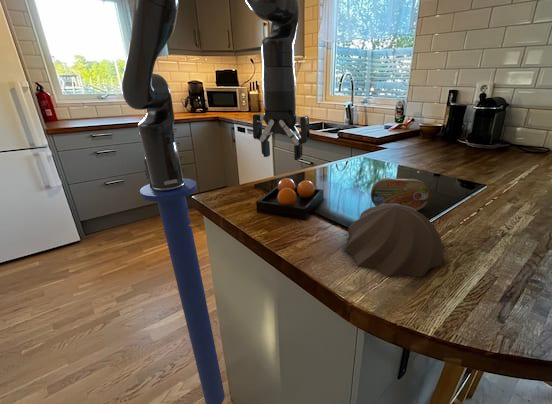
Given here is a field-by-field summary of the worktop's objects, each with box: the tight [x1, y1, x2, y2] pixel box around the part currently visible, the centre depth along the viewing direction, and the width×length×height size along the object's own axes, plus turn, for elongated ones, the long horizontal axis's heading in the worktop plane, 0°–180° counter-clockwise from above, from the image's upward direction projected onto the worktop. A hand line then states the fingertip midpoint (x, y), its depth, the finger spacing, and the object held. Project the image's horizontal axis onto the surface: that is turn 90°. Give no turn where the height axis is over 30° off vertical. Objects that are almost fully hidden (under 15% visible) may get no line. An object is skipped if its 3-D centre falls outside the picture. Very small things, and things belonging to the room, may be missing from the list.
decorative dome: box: [344, 203, 444, 278], centre depth 60 cm, size 19×20×10 cm
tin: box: [370, 177, 431, 212], centre depth 79 cm, size 15×3×8 cm, turn 82°
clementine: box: [278, 188, 297, 206], centre depth 78 cm, size 5×5×5 cm
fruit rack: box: [255, 177, 324, 221], centre depth 82 cm, size 14×14×6 cm
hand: (281, 157), depth 74 cm, fingers open, 8 cm apart
